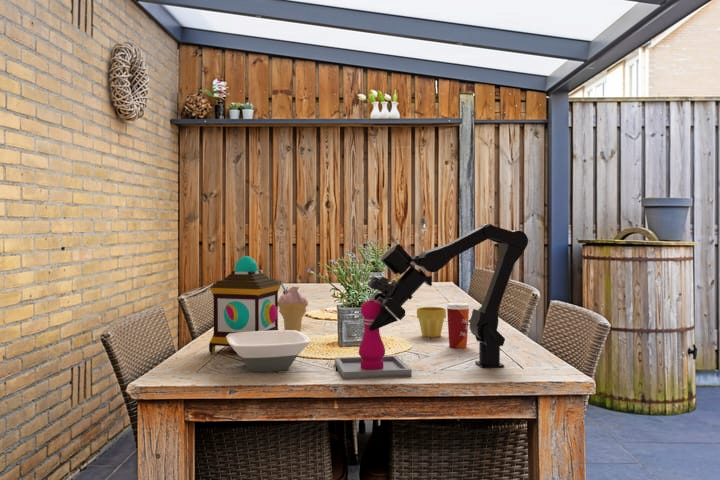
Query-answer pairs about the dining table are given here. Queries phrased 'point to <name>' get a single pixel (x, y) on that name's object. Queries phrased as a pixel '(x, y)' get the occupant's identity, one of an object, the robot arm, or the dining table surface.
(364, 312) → the pepper mill
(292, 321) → the ice cream cone
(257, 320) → the decorative lantern
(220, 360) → the dining table surface
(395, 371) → the slate tray
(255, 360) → the bowl
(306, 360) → the dining table surface
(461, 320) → the paper cup
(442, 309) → the plant pot
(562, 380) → the dining table surface
